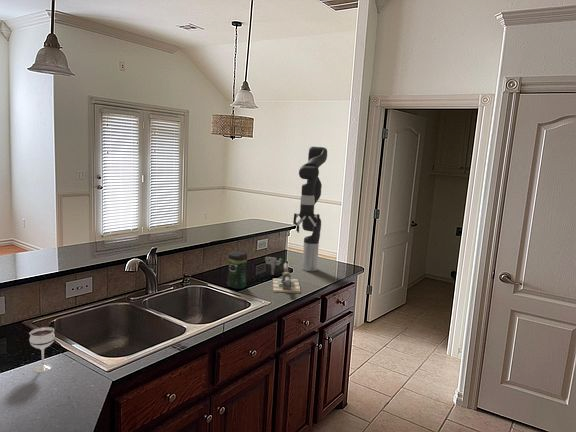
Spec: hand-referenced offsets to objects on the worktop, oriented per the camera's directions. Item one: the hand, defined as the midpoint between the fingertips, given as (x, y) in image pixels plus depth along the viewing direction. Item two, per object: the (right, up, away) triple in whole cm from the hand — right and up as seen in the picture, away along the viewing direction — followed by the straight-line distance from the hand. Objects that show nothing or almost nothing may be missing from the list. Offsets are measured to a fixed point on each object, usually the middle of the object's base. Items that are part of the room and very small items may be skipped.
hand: (305, 232), depth 228 cm
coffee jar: (-37, -28, -11) cm, 47 cm away
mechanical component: (-19, -25, +15) cm, 35 cm away
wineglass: (-86, -38, -99) cm, 137 cm away
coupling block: (-11, -28, -5) cm, 30 cm away
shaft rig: (-11, -29, -5) cm, 31 cm away
